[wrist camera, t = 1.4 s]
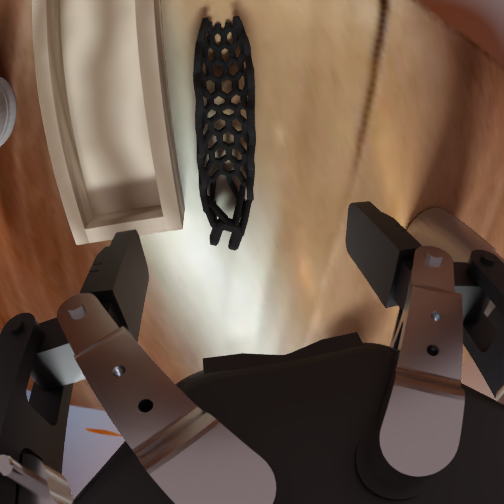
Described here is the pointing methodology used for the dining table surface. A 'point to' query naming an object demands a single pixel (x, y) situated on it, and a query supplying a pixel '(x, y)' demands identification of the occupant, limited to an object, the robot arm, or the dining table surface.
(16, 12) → the dining table surface
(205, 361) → the robot arm
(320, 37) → the dining table surface
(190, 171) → the dining table surface
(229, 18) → the dining table surface
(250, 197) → the decorative element
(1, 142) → the glass holder
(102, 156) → the rectangular tray
